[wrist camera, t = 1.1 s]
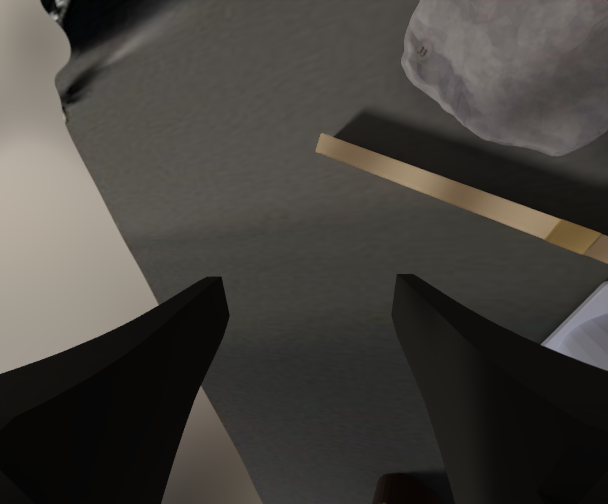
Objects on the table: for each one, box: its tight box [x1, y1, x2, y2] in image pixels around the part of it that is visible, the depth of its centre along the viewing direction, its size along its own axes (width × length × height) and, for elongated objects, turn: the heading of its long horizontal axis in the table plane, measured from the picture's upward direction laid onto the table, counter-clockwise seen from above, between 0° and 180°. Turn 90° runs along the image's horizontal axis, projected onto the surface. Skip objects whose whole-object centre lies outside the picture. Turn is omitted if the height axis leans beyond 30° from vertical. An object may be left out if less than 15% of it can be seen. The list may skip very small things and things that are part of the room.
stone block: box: [401, 0, 608, 156], centre depth 12 cm, size 12×5×10 cm
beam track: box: [316, 133, 608, 264], centre depth 11 cm, size 20×19×4 cm
